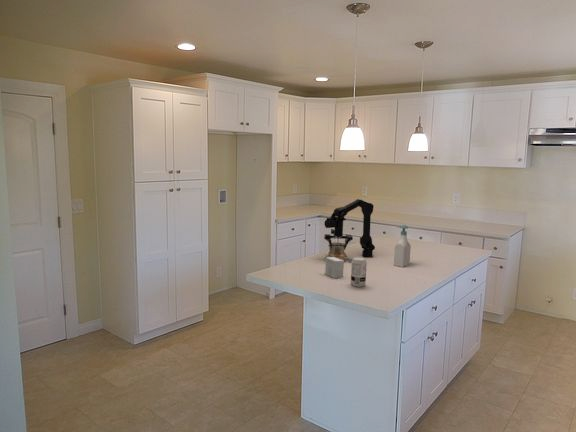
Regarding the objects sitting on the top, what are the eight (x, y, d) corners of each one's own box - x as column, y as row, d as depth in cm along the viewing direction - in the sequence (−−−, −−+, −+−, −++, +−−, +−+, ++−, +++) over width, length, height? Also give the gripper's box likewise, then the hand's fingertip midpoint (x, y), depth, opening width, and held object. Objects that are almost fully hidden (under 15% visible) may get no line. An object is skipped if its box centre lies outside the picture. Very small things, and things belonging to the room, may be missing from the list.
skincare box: (343, 277, 252) (344, 260, 250) (334, 278, 248) (335, 261, 247) (333, 272, 261) (334, 256, 259) (324, 274, 257) (325, 257, 256)
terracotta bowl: (342, 260, 294) (343, 253, 293) (344, 263, 285) (345, 256, 284) (329, 259, 294) (330, 253, 293) (331, 263, 285) (331, 256, 284)
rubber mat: (362, 259, 296) (362, 259, 296) (366, 264, 284) (366, 263, 284) (345, 259, 296) (345, 258, 296) (348, 263, 284) (348, 263, 284)
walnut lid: (344, 253, 294) (344, 246, 294) (346, 257, 283) (347, 250, 283) (328, 253, 294) (328, 246, 293) (330, 256, 283) (330, 249, 282)
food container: (344, 256, 306) (345, 242, 304) (345, 258, 300) (345, 244, 298) (327, 255, 307) (328, 241, 306) (327, 257, 301) (328, 243, 299)
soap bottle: (398, 262, 292) (400, 223, 288) (409, 264, 287) (412, 224, 283) (391, 265, 283) (393, 225, 279) (402, 267, 278) (405, 226, 274)
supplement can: (349, 282, 241) (350, 257, 239) (363, 282, 241) (364, 257, 239) (352, 287, 233) (353, 260, 231) (367, 287, 233) (368, 260, 231)
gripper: (350, 225, 294) (349, 247, 297) (323, 224, 294) (322, 246, 296) (353, 228, 283) (352, 250, 286) (325, 227, 283) (324, 250, 285)
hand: (337, 249), depth 288 cm, fingers open, 9 cm apart
